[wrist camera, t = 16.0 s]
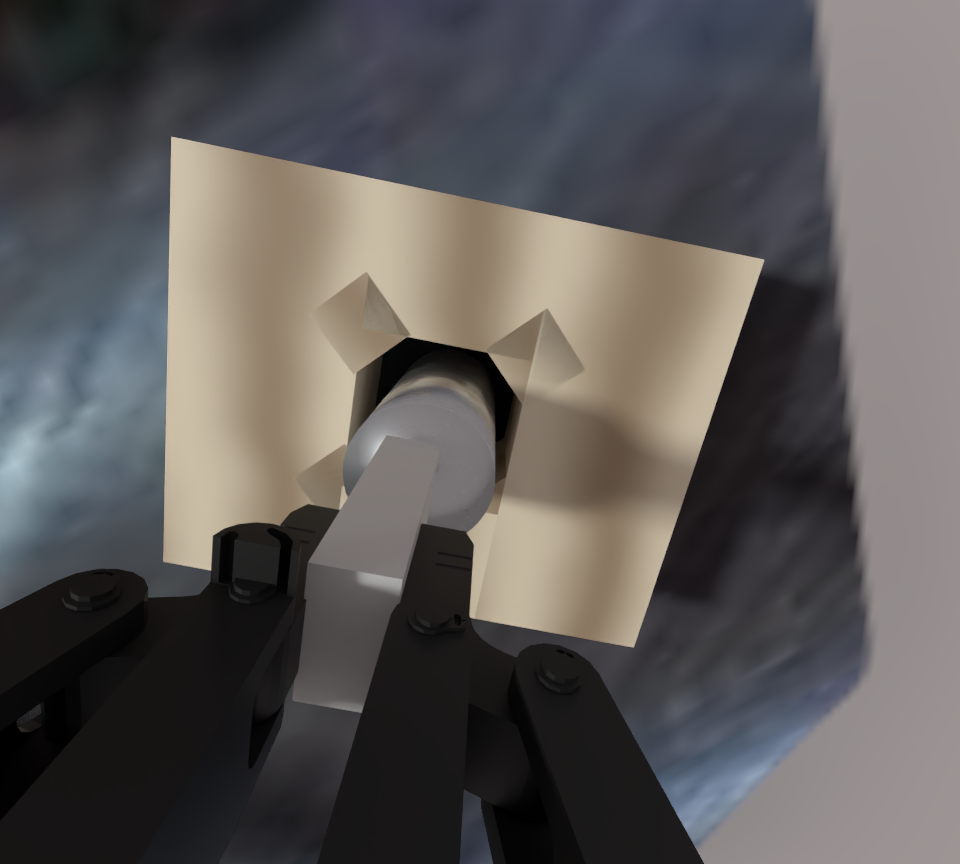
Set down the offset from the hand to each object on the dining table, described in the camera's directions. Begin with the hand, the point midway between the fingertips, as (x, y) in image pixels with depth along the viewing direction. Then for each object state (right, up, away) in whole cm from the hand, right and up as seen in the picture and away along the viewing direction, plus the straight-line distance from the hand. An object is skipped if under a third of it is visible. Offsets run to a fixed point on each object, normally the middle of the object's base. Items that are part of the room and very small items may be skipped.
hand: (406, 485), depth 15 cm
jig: (0, +3, +10) cm, 11 cm away
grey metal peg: (+1, +3, +10) cm, 11 cm away
